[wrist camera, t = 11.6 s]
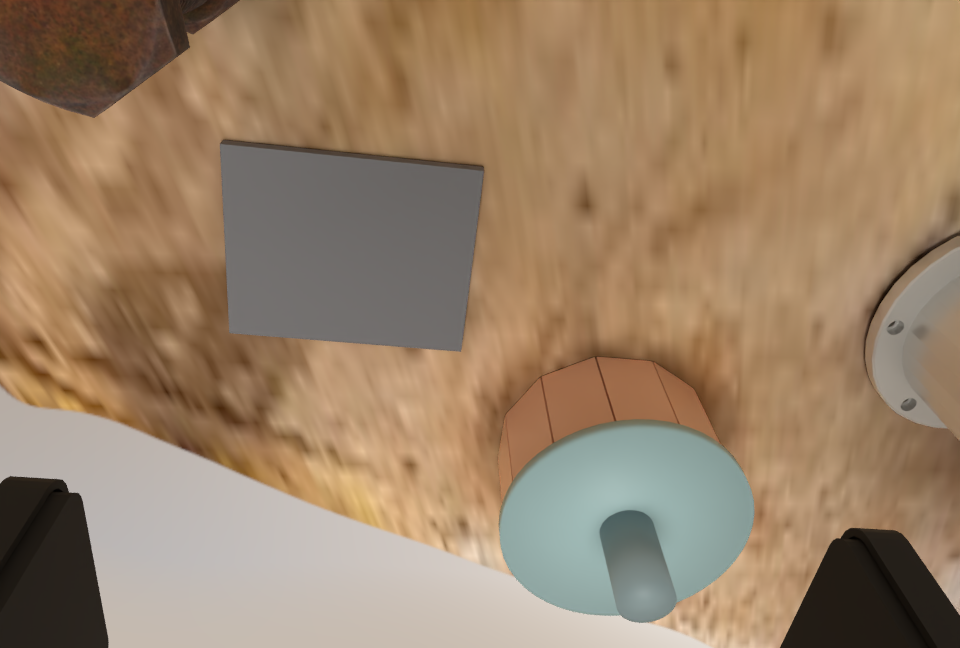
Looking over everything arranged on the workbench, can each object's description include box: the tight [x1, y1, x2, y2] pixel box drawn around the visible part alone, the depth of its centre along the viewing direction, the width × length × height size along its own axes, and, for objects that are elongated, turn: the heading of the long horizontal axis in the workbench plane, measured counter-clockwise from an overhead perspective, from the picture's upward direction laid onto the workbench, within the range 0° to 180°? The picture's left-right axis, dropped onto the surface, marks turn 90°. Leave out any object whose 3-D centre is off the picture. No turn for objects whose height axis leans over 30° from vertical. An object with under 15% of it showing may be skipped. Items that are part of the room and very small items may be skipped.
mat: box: [220, 140, 484, 352], centre depth 38 cm, size 12×10×1 cm
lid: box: [499, 419, 754, 623], centre depth 38 cm, size 13×13×5 cm
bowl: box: [498, 357, 720, 502], centre depth 43 cm, size 12×12×6 cm
